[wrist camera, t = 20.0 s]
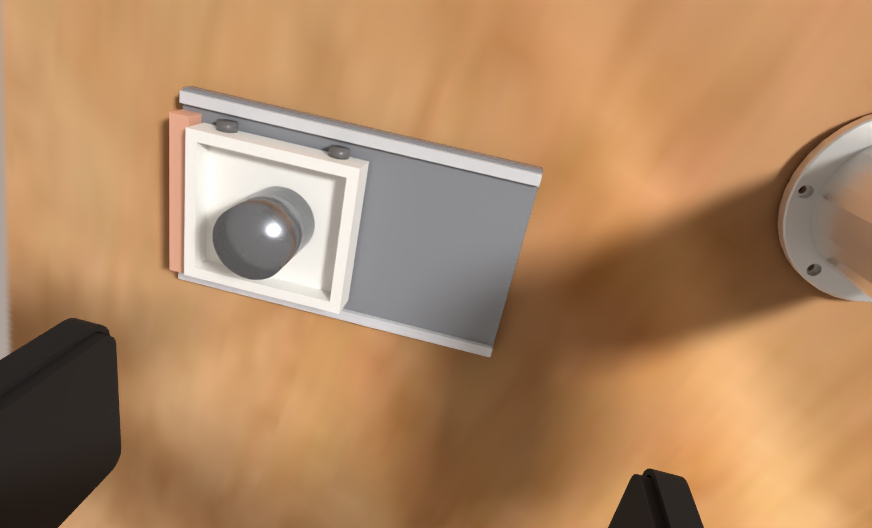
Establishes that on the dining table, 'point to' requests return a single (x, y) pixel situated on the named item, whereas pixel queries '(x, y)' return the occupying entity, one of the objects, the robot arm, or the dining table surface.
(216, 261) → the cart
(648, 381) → the dining table surface
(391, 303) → the rail board
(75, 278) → the dining table surface
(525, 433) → the dining table surface
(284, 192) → the part
